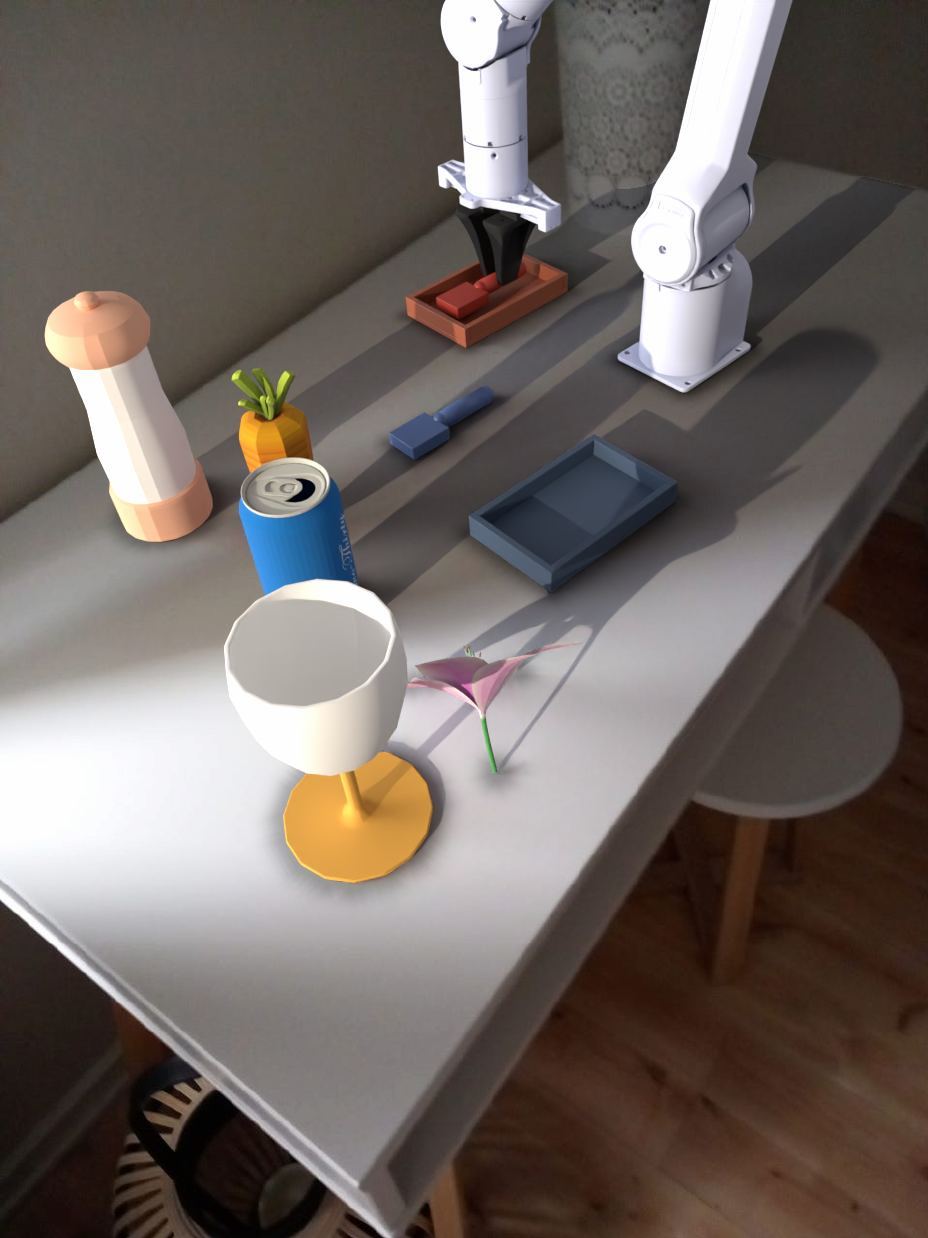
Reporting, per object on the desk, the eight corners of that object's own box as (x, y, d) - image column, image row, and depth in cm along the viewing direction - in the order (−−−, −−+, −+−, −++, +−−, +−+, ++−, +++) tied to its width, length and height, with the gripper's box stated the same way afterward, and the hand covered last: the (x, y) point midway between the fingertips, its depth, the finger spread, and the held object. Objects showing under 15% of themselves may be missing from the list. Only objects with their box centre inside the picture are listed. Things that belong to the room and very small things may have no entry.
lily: (608, 711, 64) (578, 575, 61) (562, 812, 54) (524, 655, 50) (443, 720, 69) (408, 595, 65) (373, 815, 58) (327, 672, 55)
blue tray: (593, 453, 80) (593, 433, 78) (675, 501, 75) (678, 481, 74) (469, 535, 74) (468, 515, 73) (551, 593, 70) (551, 573, 68)
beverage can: (349, 653, 67) (319, 524, 58) (261, 643, 68) (218, 515, 59) (374, 586, 71) (348, 456, 62) (290, 577, 72) (254, 449, 64)
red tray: (507, 263, 102) (507, 244, 100) (567, 291, 97) (568, 273, 96) (407, 315, 96) (405, 296, 95) (466, 348, 92) (464, 329, 90)
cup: (256, 856, 57) (179, 688, 45) (324, 735, 63) (272, 557, 51) (397, 904, 54) (355, 738, 43) (455, 773, 60) (432, 595, 48)
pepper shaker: (231, 499, 79) (162, 280, 65) (169, 554, 75) (80, 334, 61) (167, 471, 82) (87, 257, 68) (103, 523, 78) (4, 307, 64)
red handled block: (513, 268, 99) (512, 253, 98) (535, 278, 97) (535, 263, 96) (436, 308, 94) (435, 293, 93) (458, 320, 93) (457, 304, 92)
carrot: (341, 518, 76) (307, 352, 65) (315, 561, 73) (274, 394, 62) (285, 507, 78) (241, 343, 67) (257, 549, 75) (206, 384, 64)
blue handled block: (479, 391, 87) (478, 376, 86) (504, 406, 85) (503, 390, 84) (390, 444, 82) (387, 428, 81) (414, 460, 81) (412, 445, 80)
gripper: (408, 127, 88) (422, 268, 98) (519, 172, 80) (522, 319, 90) (466, 103, 91) (474, 242, 101) (579, 144, 83) (575, 290, 93)
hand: (500, 277), depth 96 cm, fingers closed on red handled block, 1 cm apart
